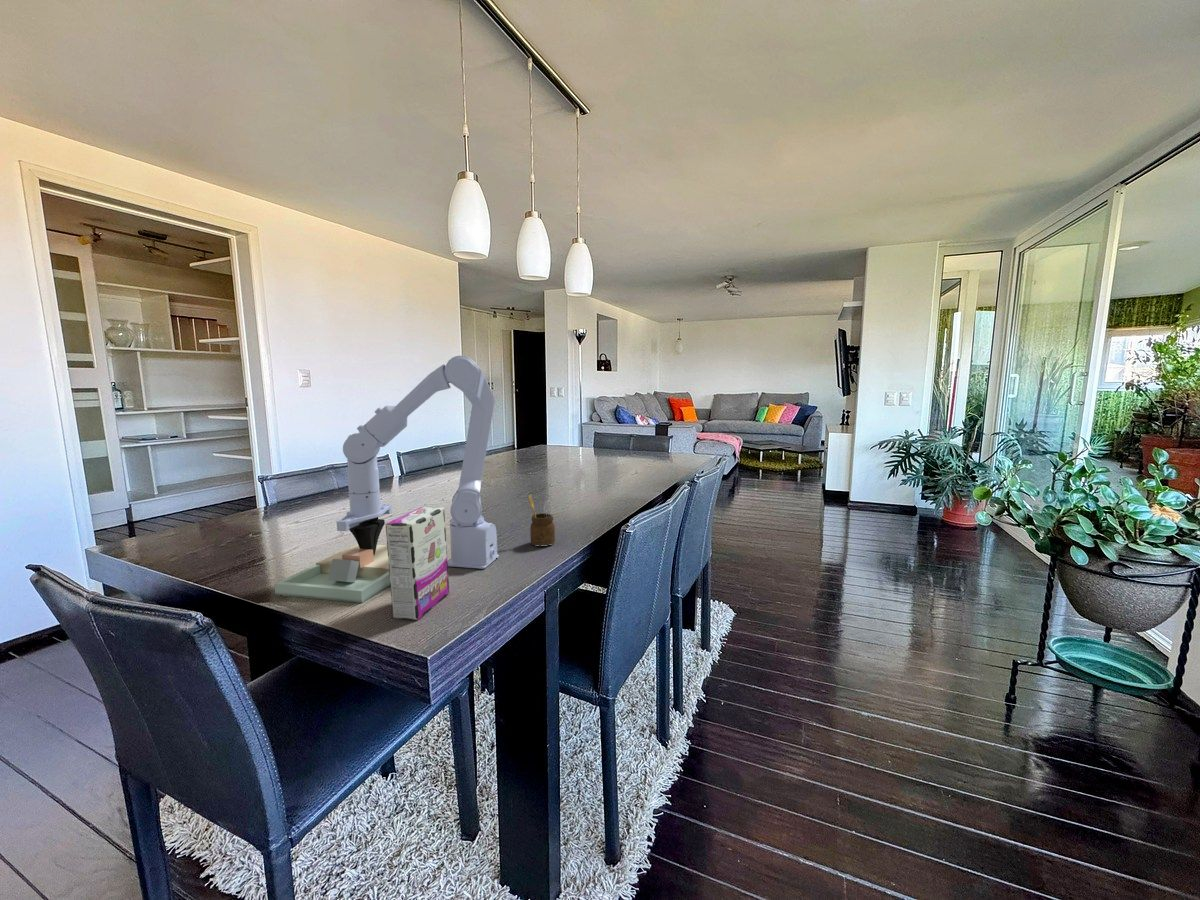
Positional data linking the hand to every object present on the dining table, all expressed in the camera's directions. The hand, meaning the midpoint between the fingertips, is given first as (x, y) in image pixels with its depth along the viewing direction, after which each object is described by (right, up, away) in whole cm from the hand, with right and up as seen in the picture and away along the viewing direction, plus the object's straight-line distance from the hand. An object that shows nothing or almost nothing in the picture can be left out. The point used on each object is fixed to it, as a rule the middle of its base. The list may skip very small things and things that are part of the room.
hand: (368, 555), depth 102 cm
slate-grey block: (-1, -2, -6) cm, 6 cm away
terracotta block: (-1, -1, -3) cm, 3 cm away
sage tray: (-2, -4, -9) cm, 10 cm away
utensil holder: (+34, -1, +18) cm, 38 cm away
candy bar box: (+17, -5, -16) cm, 24 cm away
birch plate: (0, -3, +3) cm, 4 cm away
